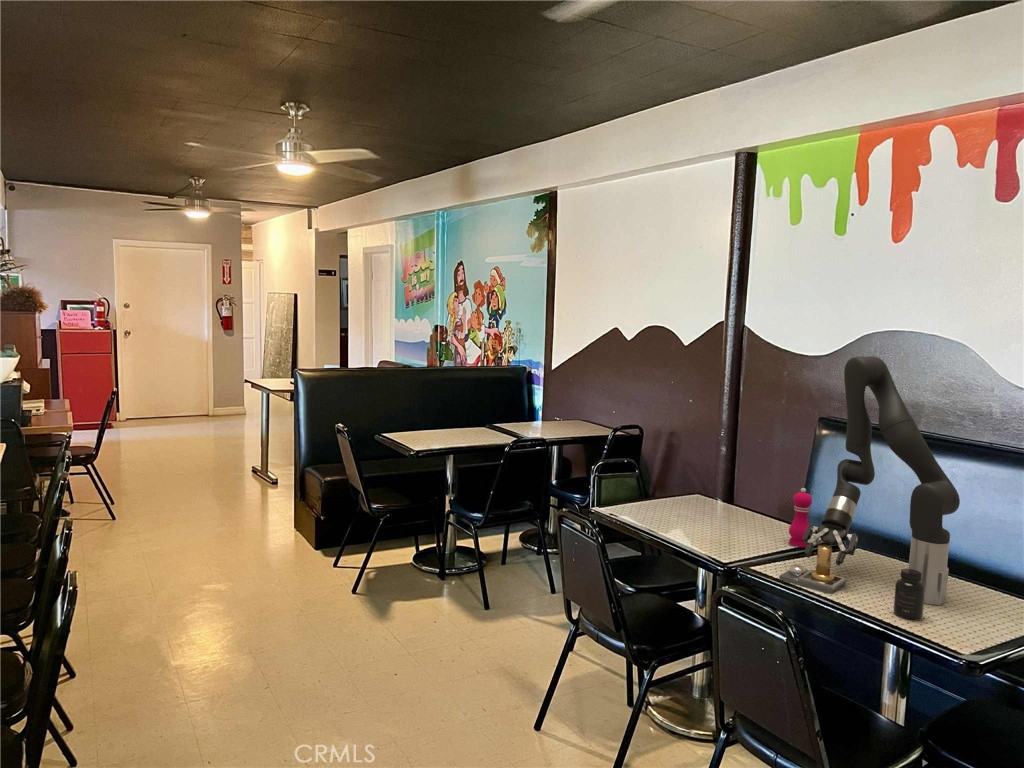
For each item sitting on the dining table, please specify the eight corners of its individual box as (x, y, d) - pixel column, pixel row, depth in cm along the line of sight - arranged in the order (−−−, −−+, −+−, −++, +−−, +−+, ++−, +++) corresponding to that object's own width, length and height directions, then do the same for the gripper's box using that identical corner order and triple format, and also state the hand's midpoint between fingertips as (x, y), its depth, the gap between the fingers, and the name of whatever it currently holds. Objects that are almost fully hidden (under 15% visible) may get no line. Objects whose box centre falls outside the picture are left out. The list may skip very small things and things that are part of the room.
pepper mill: (813, 548, 245) (818, 491, 243) (792, 547, 245) (796, 490, 244) (805, 541, 252) (810, 486, 251) (784, 541, 253) (789, 485, 251)
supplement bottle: (896, 608, 195) (900, 565, 194) (924, 615, 191) (928, 571, 190) (890, 615, 190) (894, 571, 189) (919, 623, 186) (923, 578, 185)
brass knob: (836, 580, 211) (839, 547, 210) (829, 585, 207) (831, 551, 206) (815, 575, 215) (818, 542, 214) (808, 579, 211) (810, 546, 210)
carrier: (846, 584, 212) (847, 573, 212) (832, 594, 203) (833, 583, 203) (795, 570, 222) (795, 560, 222) (779, 579, 214) (779, 569, 213)
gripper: (812, 502, 219) (795, 547, 212) (862, 512, 210) (845, 559, 202) (817, 516, 224) (800, 560, 216) (866, 527, 214) (850, 573, 207)
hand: (822, 560), depth 209 cm, fingers open, 8 cm apart
